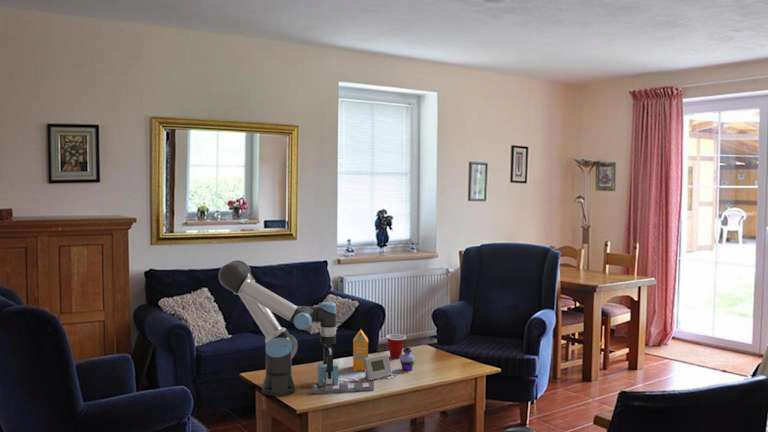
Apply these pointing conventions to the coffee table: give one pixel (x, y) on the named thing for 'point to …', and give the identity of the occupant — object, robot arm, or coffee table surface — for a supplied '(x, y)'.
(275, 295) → the robot arm
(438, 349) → the coffee table surface
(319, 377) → the block
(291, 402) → the coffee table surface
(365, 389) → the rail
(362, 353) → the orange juice
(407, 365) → the potion bottle
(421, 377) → the coffee table surface
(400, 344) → the plastic cup
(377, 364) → the digital clock
